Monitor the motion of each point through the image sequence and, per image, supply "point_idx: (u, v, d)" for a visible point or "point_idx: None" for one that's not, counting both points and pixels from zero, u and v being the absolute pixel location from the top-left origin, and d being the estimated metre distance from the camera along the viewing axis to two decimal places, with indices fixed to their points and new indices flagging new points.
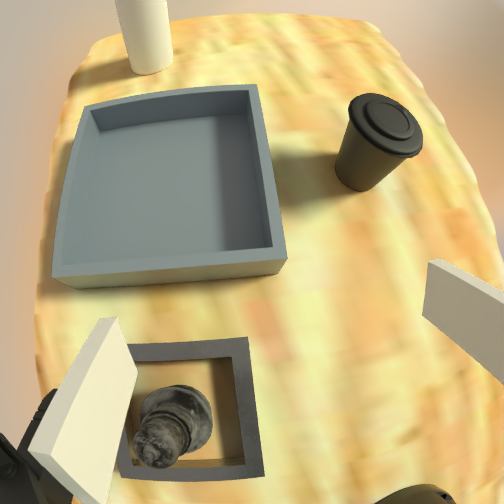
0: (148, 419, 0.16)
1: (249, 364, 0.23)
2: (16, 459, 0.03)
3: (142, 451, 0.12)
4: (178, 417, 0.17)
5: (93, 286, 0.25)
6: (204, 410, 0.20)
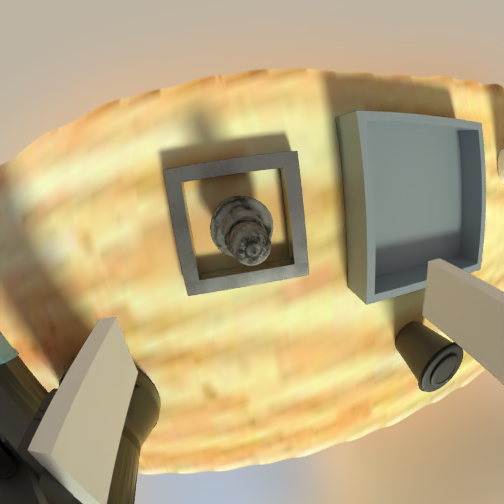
0: (260, 224, 0.23)
1: (288, 277, 0.31)
2: (16, 459, 0.03)
3: (253, 242, 0.20)
4: None
5: (341, 138, 0.29)
6: None
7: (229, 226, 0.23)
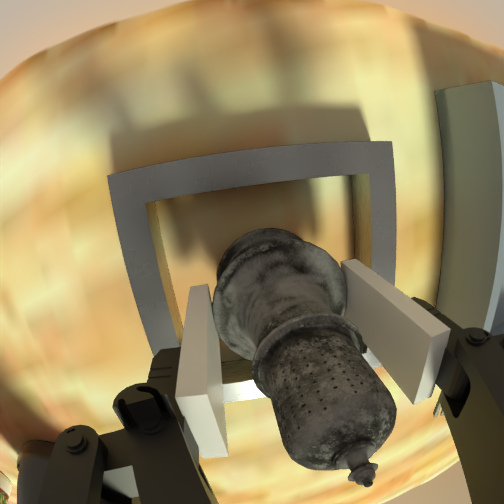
0: (349, 334, 0.08)
1: None
2: (165, 414, 0.06)
3: (360, 442, 0.05)
4: None
5: (448, 126, 0.13)
6: None
7: (267, 344, 0.08)
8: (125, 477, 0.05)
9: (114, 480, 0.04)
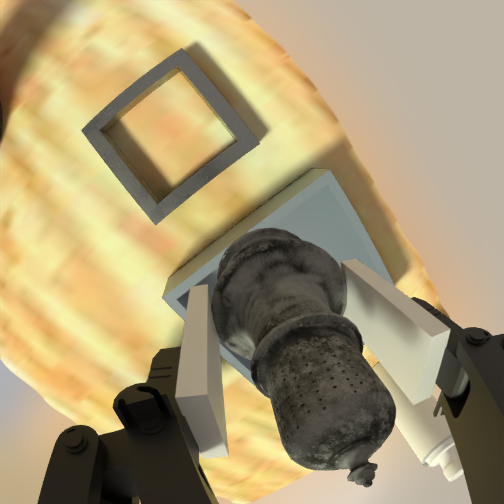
0: (349, 333, 0.08)
1: (141, 206, 0.27)
2: (165, 414, 0.06)
3: (359, 442, 0.05)
4: None
5: (297, 181, 0.30)
6: None
7: (266, 343, 0.08)
8: (125, 477, 0.05)
9: (114, 480, 0.04)
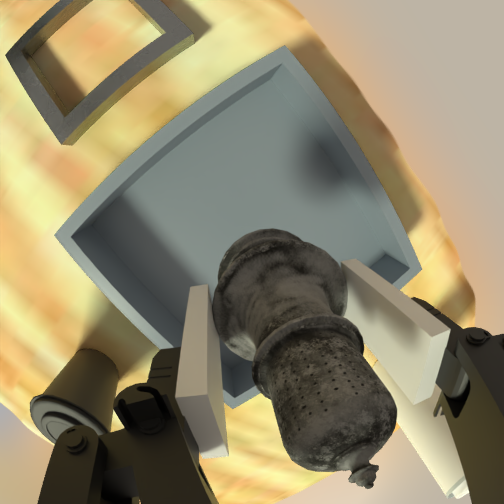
0: (350, 335, 0.08)
1: (48, 123, 0.17)
2: (165, 414, 0.06)
3: (360, 443, 0.05)
4: None
5: None
6: None
7: (267, 345, 0.08)
8: (125, 477, 0.05)
9: (114, 479, 0.04)
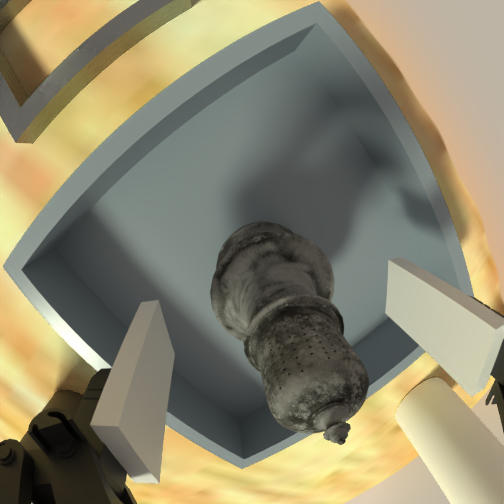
0: (330, 313, 0.09)
1: (2, 116, 0.11)
2: (77, 438, 0.05)
3: (333, 403, 0.06)
4: None
5: None
6: None
7: (257, 321, 0.09)
8: (49, 492, 0.04)
9: (40, 493, 0.03)
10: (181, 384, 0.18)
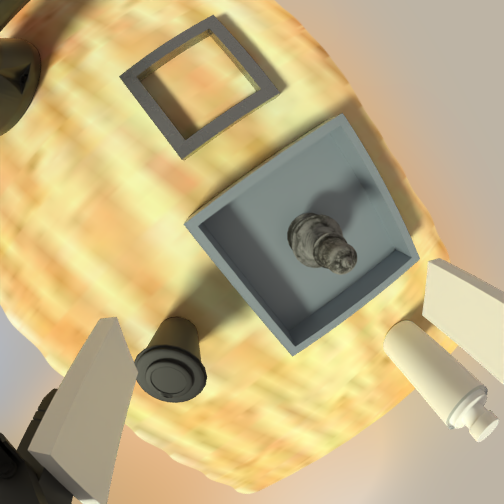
0: (343, 240, 0.27)
1: (170, 142, 0.29)
2: (16, 459, 0.03)
3: (346, 255, 0.24)
4: None
5: (313, 128, 0.31)
6: None
7: (318, 240, 0.27)
8: None
9: None
10: (262, 299, 0.35)
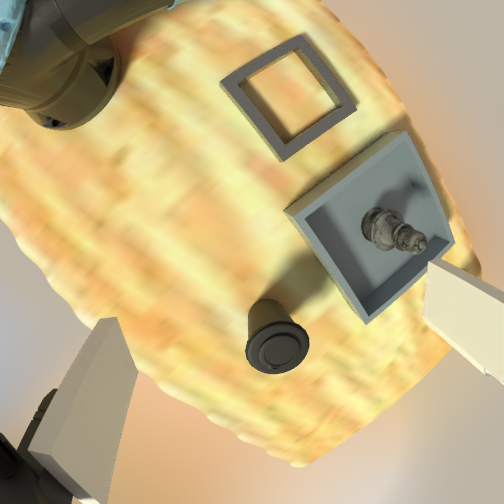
0: (412, 229, 0.33)
1: (272, 146, 0.35)
2: (16, 459, 0.03)
3: (422, 240, 0.30)
4: None
5: (379, 139, 0.37)
6: (394, 246, 0.38)
7: (397, 229, 0.33)
8: None
9: None
10: None
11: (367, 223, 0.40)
